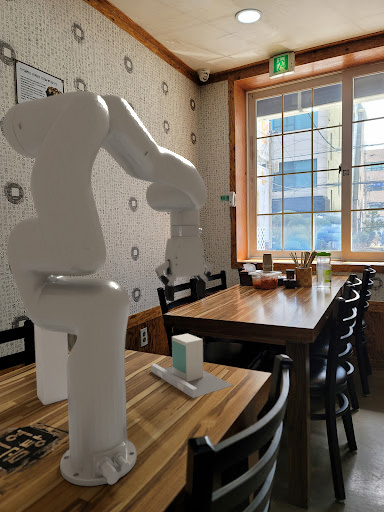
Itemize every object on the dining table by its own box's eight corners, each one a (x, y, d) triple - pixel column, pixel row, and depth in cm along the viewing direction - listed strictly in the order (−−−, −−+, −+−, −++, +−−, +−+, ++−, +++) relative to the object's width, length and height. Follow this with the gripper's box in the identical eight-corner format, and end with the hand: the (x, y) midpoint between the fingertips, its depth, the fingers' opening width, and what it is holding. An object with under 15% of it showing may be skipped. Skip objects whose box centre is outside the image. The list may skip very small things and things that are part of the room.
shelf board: (233, 391, 90) (233, 377, 90) (192, 404, 84) (192, 389, 83) (188, 367, 107) (187, 355, 107) (150, 377, 100) (150, 364, 100)
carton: (203, 377, 96) (202, 339, 95) (186, 382, 93) (185, 342, 92) (188, 369, 101) (187, 333, 101) (171, 373, 98) (171, 336, 98)
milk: (44, 405, 84) (39, 310, 83) (37, 396, 89) (32, 306, 88) (70, 398, 88) (66, 307, 87) (62, 389, 93) (58, 303, 91)
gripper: (203, 232, 103) (204, 293, 104) (148, 233, 93) (149, 300, 94) (220, 232, 97) (221, 297, 98) (163, 232, 87) (164, 304, 88)
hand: (186, 298), depth 96 cm, fingers open, 9 cm apart
